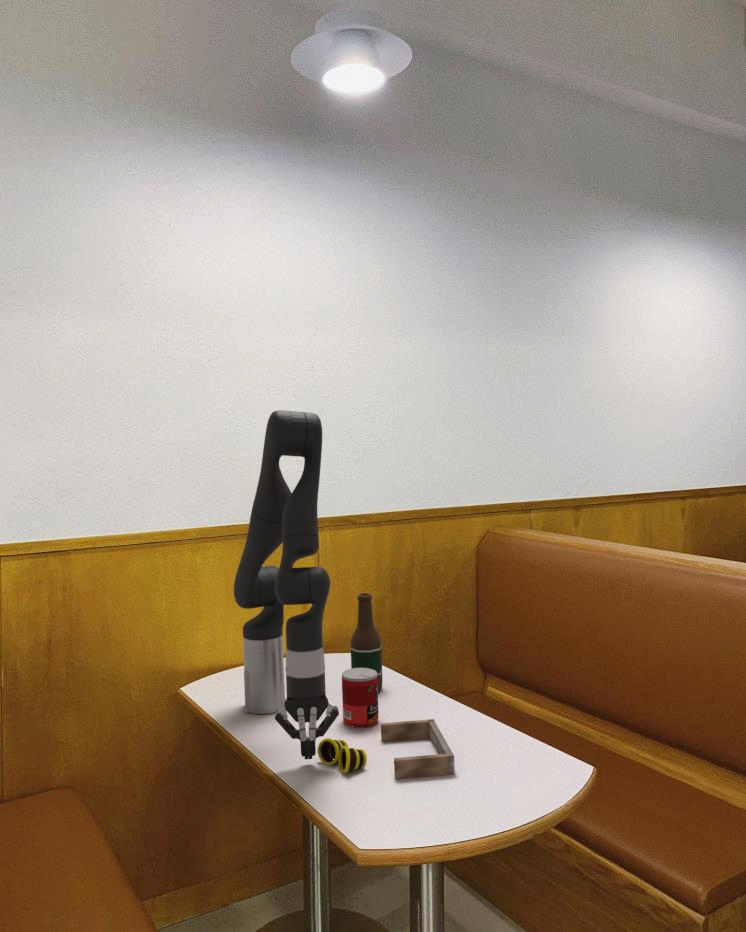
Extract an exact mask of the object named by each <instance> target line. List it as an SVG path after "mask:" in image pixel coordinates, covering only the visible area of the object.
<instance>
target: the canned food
mask: <svg viewBox="0 0 746 932" xmlns="http://www.w3.org/2000/svg"><path fill="white" fill-rule="evenodd" d="M341 694H342V695H341V696H342V697H341V698H342V700H341V701H342V720H343V722H345V723H344V724H345V725H347V726H348V725H349V726H348V727H351V726H353V727H352V728H356V727H364V728H369V726H370V727H372V725H373V726H375V725H376V724H377V723H378V721H379V718H380V717H379V693H378V677H377V672H376V671H375V670H373V669H369V668H352V669H351V668H348V669H345V670H343V671H342V673H341Z"/></svg>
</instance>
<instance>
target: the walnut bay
mask: <svg viewBox="0 0 746 932" xmlns="http://www.w3.org/2000/svg"><path fill="white" fill-rule="evenodd" d="M380 735H381V736H380V738H381V739H380V740H381V743H387V742H399V741H400V740H401V741H411V740H410V739H414V740H422V738H426V739H429V740H430V742H431V744H432V746H433V747H434V750H435V749H436V750H435V752H436V751H437V752H436V753H438V754H427V755H416V756H415V755H414V756H403V757H394V758H393V762H394V763H393V767H394V768H393V769H394V774H393V775H394V779H395V780H402V779H414V778H425V777H436V776H446V775H447V776H448V775H456V774H455V773H456V772H455V755H454V753H453V751H452V749H451V747H450V746H449V744H448V742H447V740H446V738H445V737H444V735H443V733H442V732H441V730H440V728H439V726H438V724H437V723H436V721H435V719H433V718H432V719H431V718H430V719H418V720H417V719H416V720H408V721H407V720H405V721H393V722H392V721H391V722H381V723H380Z"/></svg>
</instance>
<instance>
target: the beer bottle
mask: <svg viewBox="0 0 746 932" xmlns="http://www.w3.org/2000/svg"><path fill="white" fill-rule="evenodd" d="M356 599H357V600H358V605H357V606H358V609H357V625H356V626H357V627H356V629H355V630H354V632H353V633H352V637H351V639H350V669H352V668H369V669H373V670H375V671H376V672H377V677H378V694H379V693H380V692H381V691H382V688H383V655H382V653H383V652H382V651H383V650H382V648H383V647H382V638H381V634H380V632H379V630H378V629H377V628H376V626H375V623H374V618H373V605H372V600H373V595H372V594H370V593H368V592H366V593H363V592H362V593H359V594H358V595H357V598H356Z"/></svg>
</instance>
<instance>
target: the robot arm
mask: <svg viewBox="0 0 746 932" xmlns="http://www.w3.org/2000/svg"><path fill="white" fill-rule="evenodd" d="M265 428H266V429H265V436H264V442H263V450H262V457H261V458H262V459H261V465H260V473H259V478H258V483H257V487H256V491H255V496H254V499H253V503H252V508H251V513H250V517H249V524H248V530H247V536H246V540H245V543H244V548H243V551H242V555H241V558H240V561H239V563H238V564H239V565H238V568H237V571H236V573H235V577H234V583H233V597H234V600H235V603H236V604H237V605H238V607H240V608H242V609H249V610H250V609H257V608H258V609H259V608H262V610H261V611H260V612H259V613H258V614H257V615H255V616H254V617H252V618H251V619H249V620H247V621H246V622H244V625H243V627H242V636H243V637H242V640H243V641H242V642H243V643H242V645H243V666H244V667H243V668H244V669H243V670H244V671H243V683H244V685H243V687H244V689H243V690H244V712H245V714H254V715H268V714H274V720H275V722H276V723H277V724H279V725H280V727H281V728H282V729H283V730H284V731H285V733H286V734H287V735H288V736H289V737H290V738H291V739H293V740H296V739H297V740H299V741H300V755H301V757H302V758H303V757H304V760H312V759H313V756H316V751H317V749H316V739H318V738H321V737H324V736H325V734H326V733H327V732H328V730H329V729H330V728H331V726H332V725H333V723H334V722H335V721H336V719H337V717H339V715H340V712H339V707H338V706H337V705H332V704H331V703H329V699H328V697H327V694H326V670H325V669H326V661H325V652H324V646H323V645H324V644H323V643H324V642H323V620H324V612H325V608H326V604H327V601H328V597H329V593H330V590H331V589H330V588H331V578H330V575H329V573H328V572H327V570H326V569H325V568H324V567H321V566H307V567H305V566H304V567H293V566H294V564H295V563H296V562H297V561H299V560H301V559H303V558H308V557H311V556H314V555H315V554H317V553H318V551H319V547H320V545H319V544H320V543H319V542H320V541H319V522H318V502H319V501H318V498H319V490H320V489H319V488H320V480H321V479H320V477H321V467H322V466H321V465H322V451H323V425H322V421H321V418H320V417H319V415H318V414H316V413H314V412H307V411H305V412H304V411H295V410H293V411H292V410H281V409H280V410H274V411H272V413H270V415H269V417H268V420H267V423H266V427H265ZM284 456H285V457H300V458H303V459H304V462H303V463H304V464H303V470H302V474H301V476H300V478H299V481H298V482H297V483H296V486H295V487H294V489H293V491H292V492H291V490H290V489H291V488H290V487H289V485H288V483H287V482H286V480H285V478H284V476H283V474H282V470H281V467H280V460H281V458H282V457H284ZM281 545H282V552H281V559H280V565H279V567H278V566H276V565H265V566H264V564H265V562H266V561H267V559H268V558H269V557H271V556H272V554H273V553H274V552H276V550H277V549H278V548H279V547H280V546H281ZM295 605H297V606H298V605H311V606H310V608H309V609H308V610H307V611H305V612H303V613H299V614H296V615H293V616H290V617H289V618H288V619H287V620H286V621H285V620H284V619H285V613H284V608H285V606H295ZM284 621H285V644H286V648H285V650H286V652H285V655H284V631H283V629H284ZM284 656H285V657H284ZM284 658H285V660H284ZM284 661H285V662H284ZM285 683H286V685H285ZM285 687H286V690H285ZM324 712H325V717H324V719H322V721H321V722H320V724H319V725H318V727H317V722H318V720H320V719H321V717H322V715H324ZM288 714H289V715H290V717H291V718H292V720H294V721H295V722H296V723H298V729H296V727H295V726H294V725H293V724H292V723H291V722H290V721H289V719H288ZM306 723H308V731H306V730H307V729H306ZM307 732H308V733H307ZM307 734H308V736H307Z"/></svg>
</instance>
